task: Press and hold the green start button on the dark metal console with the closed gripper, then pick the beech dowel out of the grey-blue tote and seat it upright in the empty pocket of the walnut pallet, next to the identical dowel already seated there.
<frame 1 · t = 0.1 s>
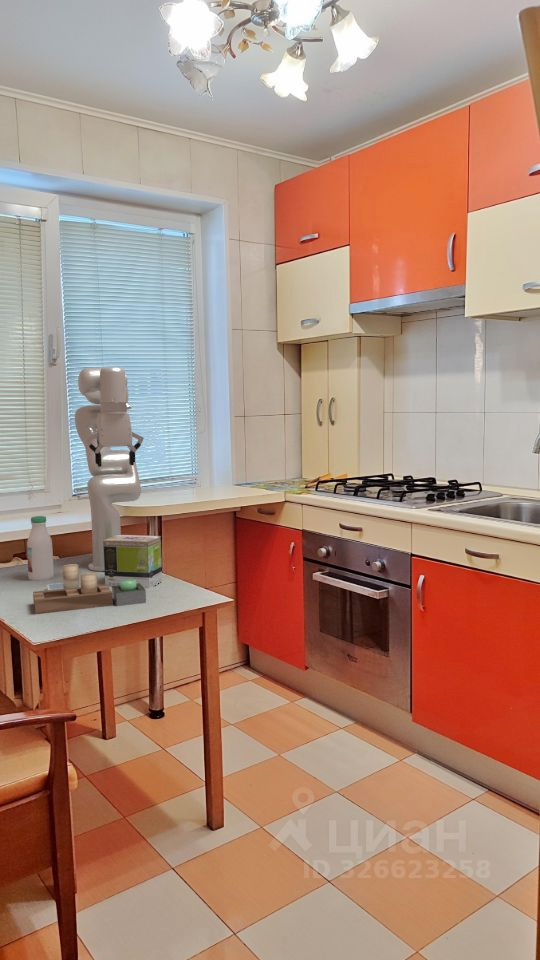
hand: (115, 465, 212), 37 cm above the table, tool pointing down, fingers open, 9 cm apart
start button: (128, 586, 196), point 4 cm above the table, slide at 0.0 cm
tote: (71, 594, 205), on the table
dowel: (71, 592, 205), resting on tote
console: (128, 602, 197), on the table
seated dowel: (89, 602, 194), resting on pallet
pallet: (72, 606, 193), on the table
tea box: (133, 585, 216), on the table
milk bottle: (41, 579, 224), on the table
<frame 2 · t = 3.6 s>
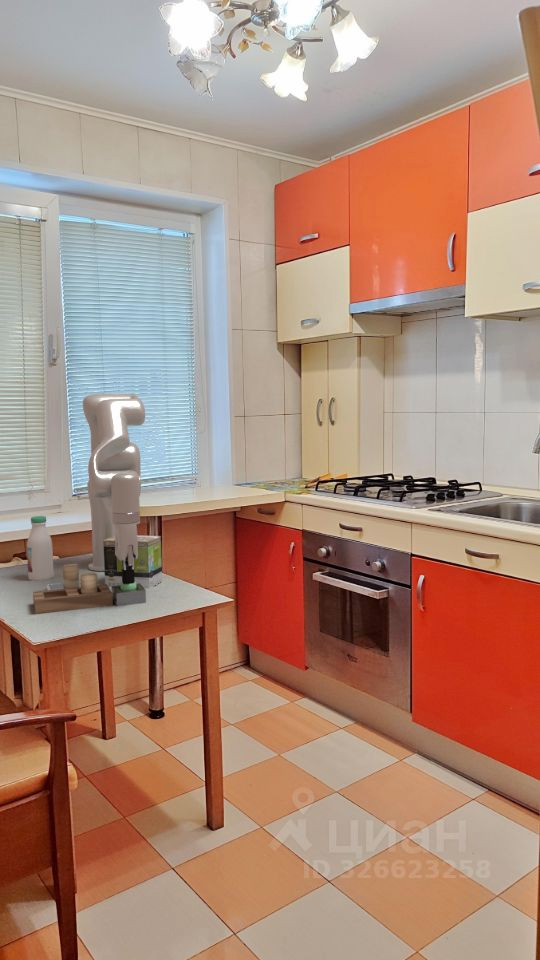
hand: (128, 582, 196), 6 cm above the table, tool pointing down, fingers closed
start button: (128, 588, 196), point 4 cm above the table, slide at 0.5 cm, touching gripper
everything else where it was.
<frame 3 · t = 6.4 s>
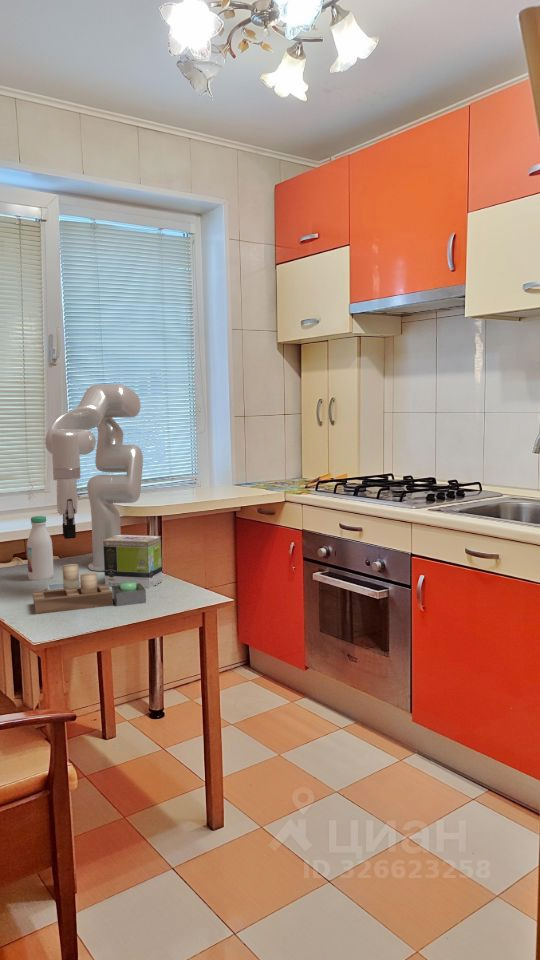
hand: (69, 536, 203), 17 cm above the table, tool pointing down, fingers closed
start button: (128, 588, 196), point 4 cm above the table, slide at 0.7 cm
everything else where it was.
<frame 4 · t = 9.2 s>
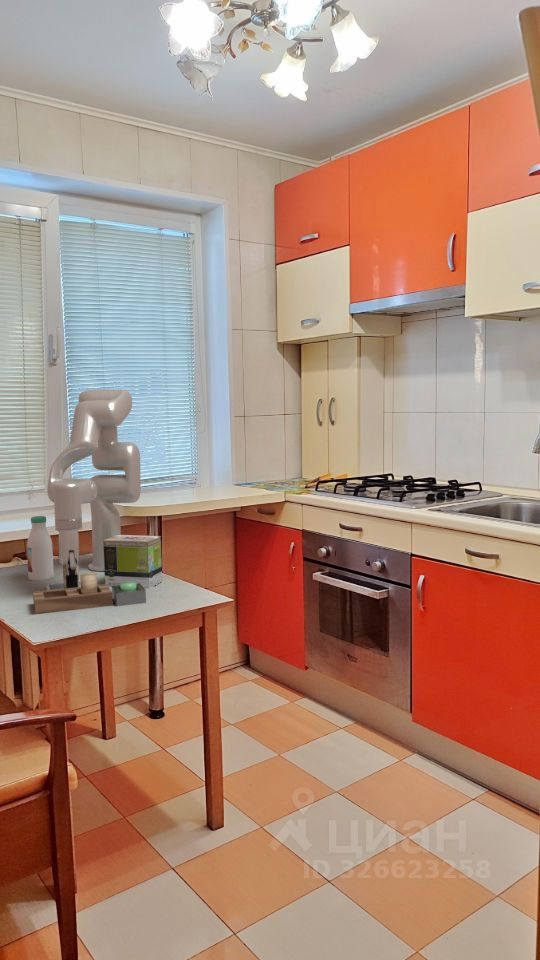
hand: (71, 585, 205), 3 cm above the table, tool pointing down, fingers closed on dowel, 4 cm apart
dowel: (71, 592, 205), resting on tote, touching gripper
everything else where it was.
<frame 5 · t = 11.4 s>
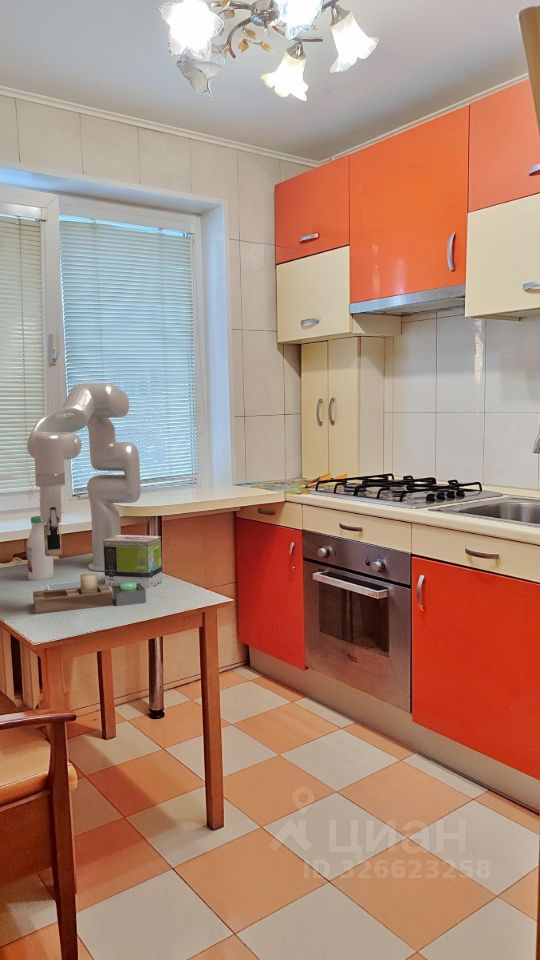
hand: (53, 546, 189), 17 cm above the table, tool pointing down, fingers closed on dowel, 4 cm apart
dowel: (53, 554, 190), point 15 cm above the table, touching gripper
everything else where it was.
when the fingers open (4 cm above the table, at t = 14.0 s): dowel drops 2 cm, resting on pallet.
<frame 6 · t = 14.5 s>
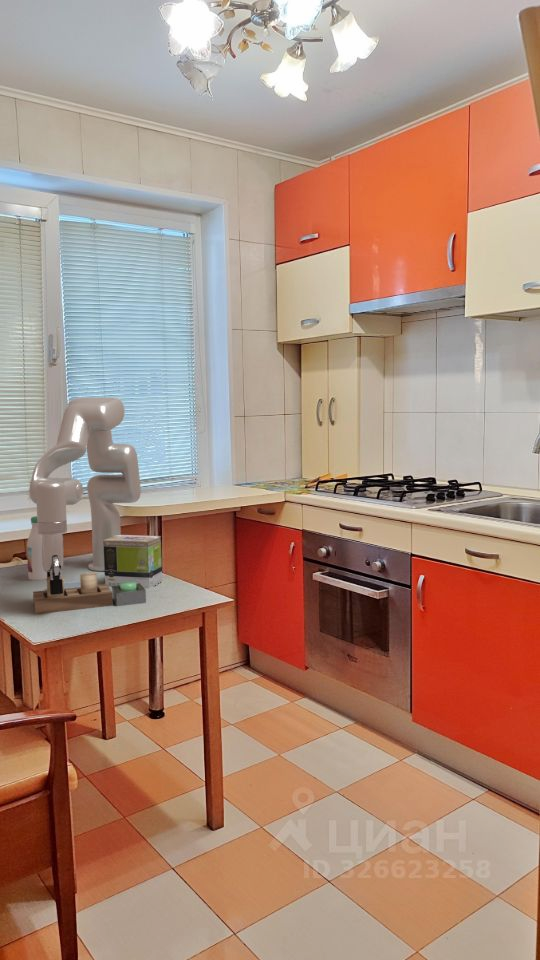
hand: (55, 589, 191), 5 cm above the table, tool pointing down, fingers open, 9 cm apart
dowel: (55, 606, 191), point 1 cm above the table, touching pallet
everything else where it was.
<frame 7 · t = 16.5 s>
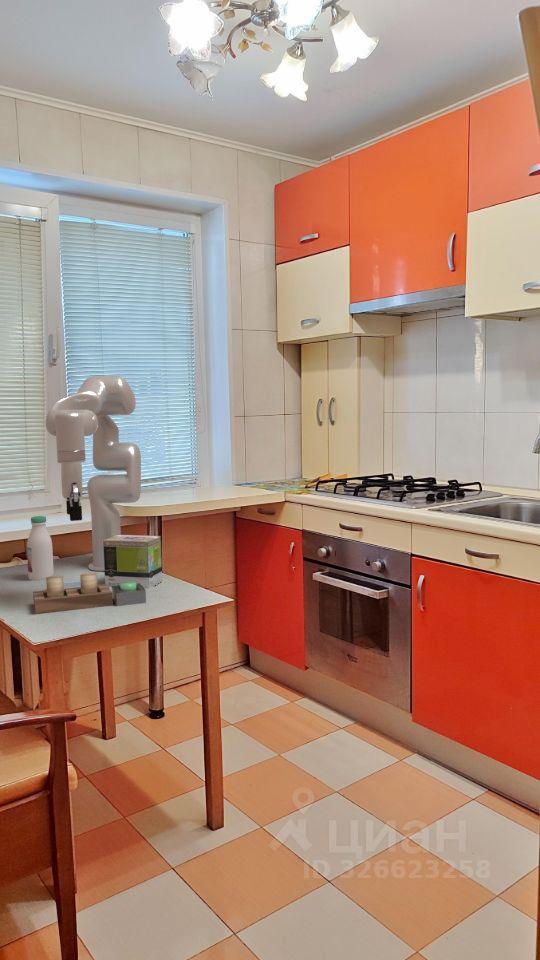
hand: (74, 517, 197), 24 cm above the table, tool pointing down, fingers open, 9 cm apart
nothing on the table moved.
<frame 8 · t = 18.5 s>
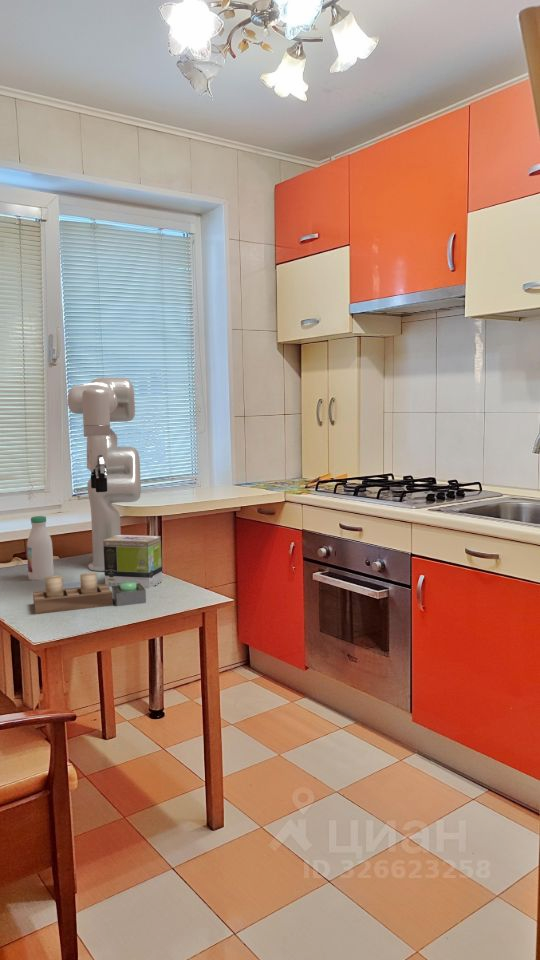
hand: (99, 489, 205), 30 cm above the table, tool pointing down, fingers open, 9 cm apart
nothing on the table moved.
at the end: dowel 0.1 cm from the target spot on the pallet, point 0.6 cm above the pallet's base; dowel tilted 2°; seated dowel moved 0.0 cm from its start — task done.
